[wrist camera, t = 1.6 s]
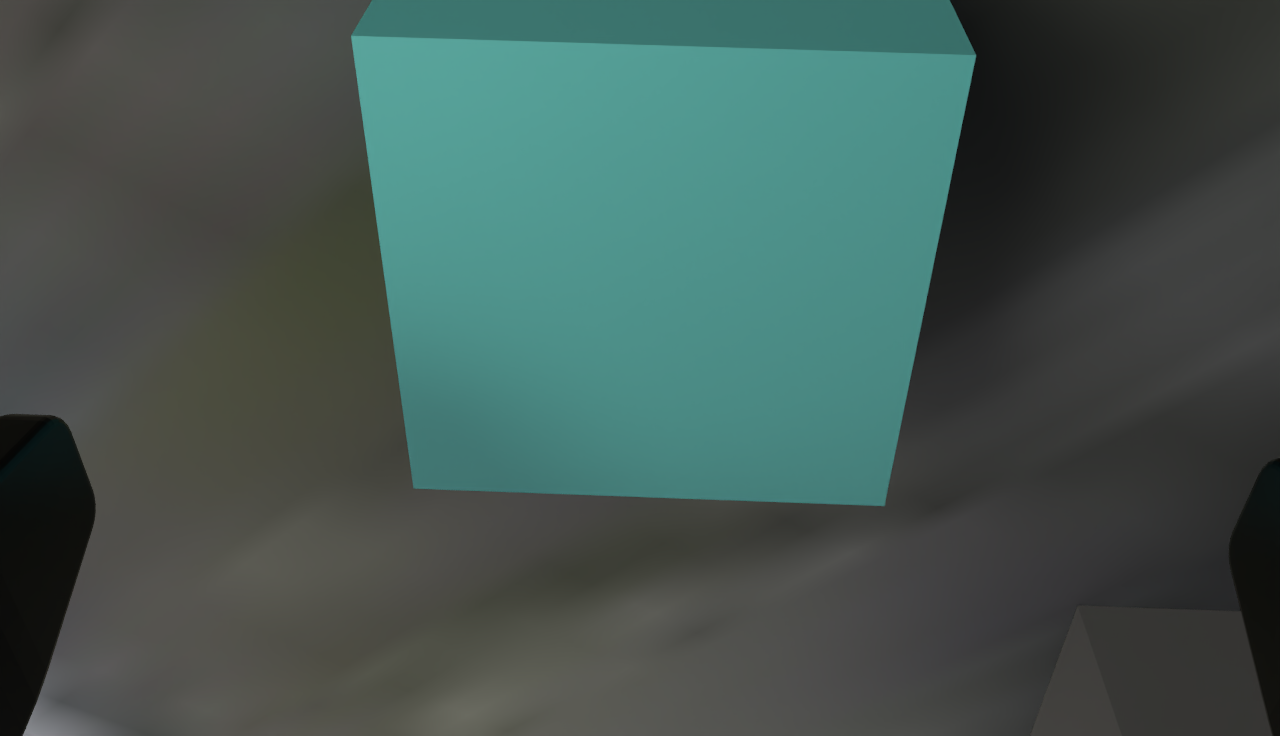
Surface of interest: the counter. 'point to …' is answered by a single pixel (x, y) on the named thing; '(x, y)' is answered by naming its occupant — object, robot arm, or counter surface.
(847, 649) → the counter surface
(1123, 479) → the counter surface
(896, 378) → the teal cube
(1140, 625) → the charcoal cube
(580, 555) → the counter surface
